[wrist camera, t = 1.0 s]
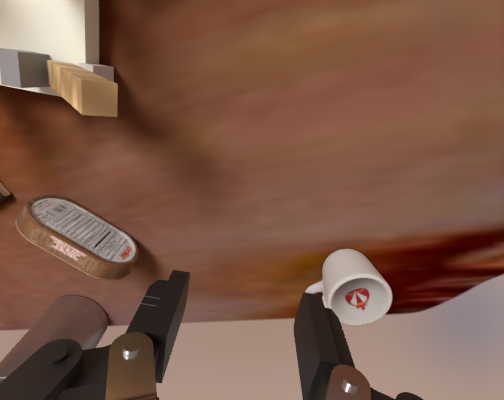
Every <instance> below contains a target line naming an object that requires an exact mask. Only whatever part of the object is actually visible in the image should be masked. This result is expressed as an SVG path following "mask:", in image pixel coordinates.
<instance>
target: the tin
mask: <svg viewBox="0 0 504 400" xmlns="http://www.w3.org/2000/svg"><path fill="white" fill-rule="evenodd" d="M16 227H17V230H18V231H19V233H20V234H21V235H22V236H23V237H24V238H25V239H26V240H28V241H29V242H31V243H32V244H34V245H36V246H38V247H39V248H41V249H43V250H45V251H47V252H48V253H50V254H52V255H54V256H56V257H57V258H59V259H61V260H63V261H64V262H66V263H68V264H70V265H71V266H73V267H75V268H77V269H79V270H80V271H82V272H84V273H86V274H87V275H89V276H92V277H94V278H97V279H101V280H119V279H122V278H124V277H126V276H127V275H128V274H129V273H130V272H131V270H132V267H133V266H134V265H135V263H136V261H137V259H138V256H139V250H138V247H137V245H136V243H135V241H134V240H133V239H132V238H131V237H130V236H129V235H128V234H127V233H125V232H124V231H122V230H121V229H119V228H117V227H116V226H114V225H112V224H111V223H109V222H107V221H106V220H104V219H103V218H101V217H99V216H98V215H96V214H94V213H93V212H91V211H89V210H88V209H86V208H84V207H83V206H81V205H79V204H78V203H76V202H74V201H72V200H69V199H66V198H63V197H59V196H52V195H43V196H39V197H35V198H33V199H30V200H29V201H28V202H26V204H25V205H24V207H23V209H22V211H21V212H20V214H19V215H18V216H17V218H16Z"/></svg>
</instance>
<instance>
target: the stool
mask: <svg viewBox="0 0 504 400" xmlns="http://www.w3.org/2000/svg"><path fill="white" fill-rule="evenodd" d="M47 60H53V61H60V62H66V63H73V64H75V65H77V66H80V67H82V68H84V69H86V70H88V71H90V72H93V73H95V74H97V75H99V76H101V77H103V78H106V79H108V80H110V81H112V82H114V67H112V66H107V65H101V64H99V0H0V85H2V86H7V87H13V88H18V89H23V90H28V91H33V92H39V93H44V94H49V95H54V96H59V97H62V96H61V95H60V94H58V93H57V92H56V91H55V90H54V89H53V88H52V87H51V86H50V85H48V75H47Z"/></svg>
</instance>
